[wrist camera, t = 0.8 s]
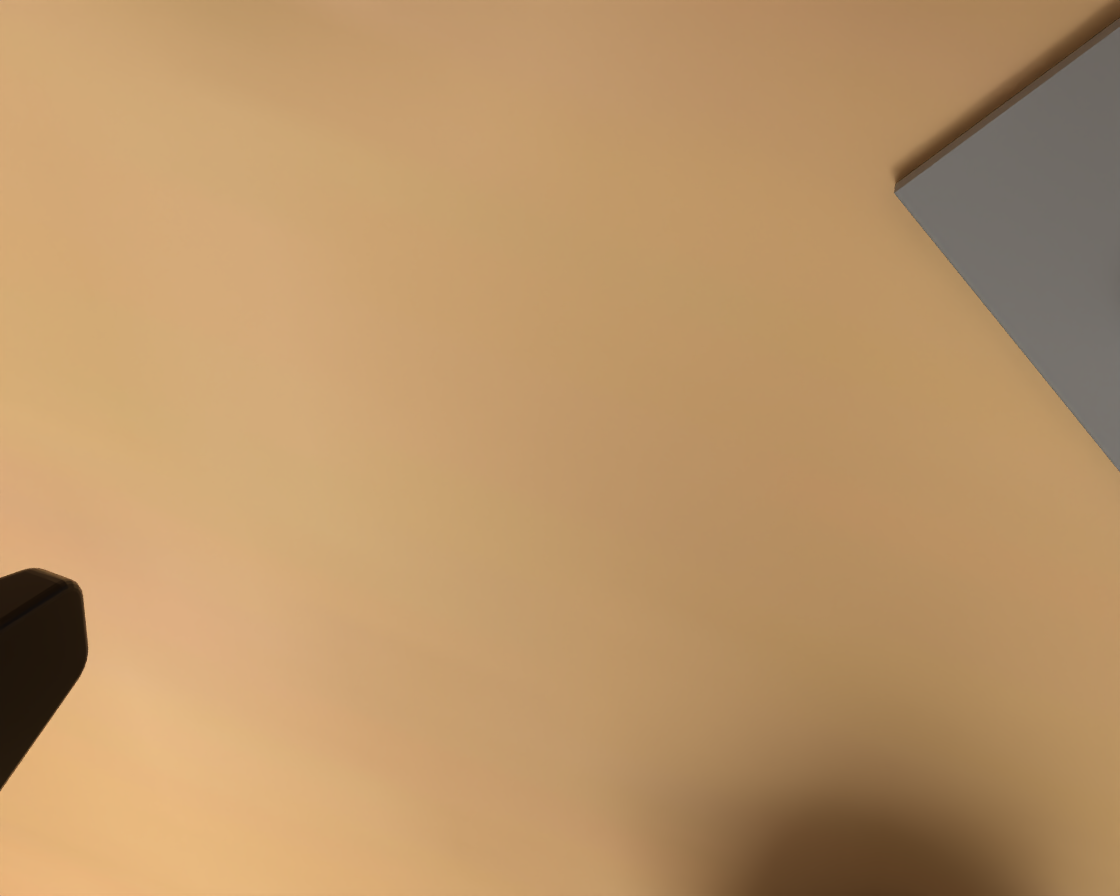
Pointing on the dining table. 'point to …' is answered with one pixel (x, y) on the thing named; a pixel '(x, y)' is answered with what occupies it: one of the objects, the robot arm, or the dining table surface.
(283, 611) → the dining table surface
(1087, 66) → the subfloor mat
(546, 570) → the dining table surface
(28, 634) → the robot arm
